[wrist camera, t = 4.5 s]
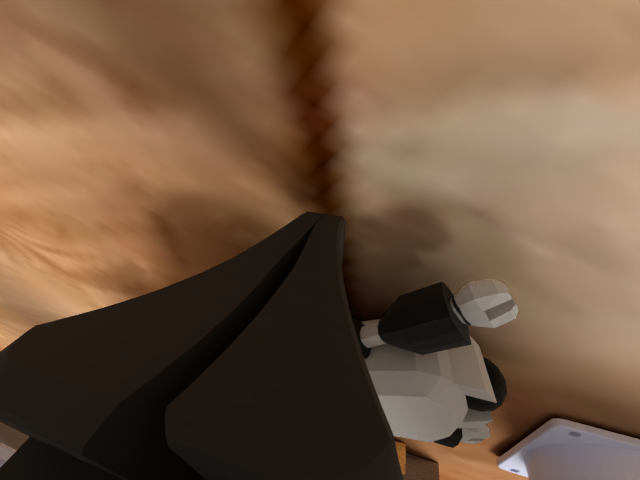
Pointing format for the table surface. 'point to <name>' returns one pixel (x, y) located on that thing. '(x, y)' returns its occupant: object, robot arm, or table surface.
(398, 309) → the robot toy
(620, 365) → the table surface
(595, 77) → the table surface
